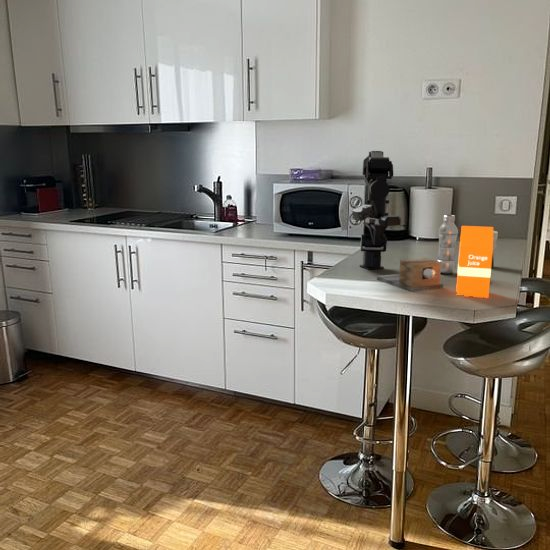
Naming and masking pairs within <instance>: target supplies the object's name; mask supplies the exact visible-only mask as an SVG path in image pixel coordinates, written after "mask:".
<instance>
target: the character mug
mask: <svg viewBox="0 0 550 550" xmlns="http://www.w3.org/2000/svg"><path fill="white" fill-rule="evenodd" d="M498 235H499V232H498V231H495V230H493V251H494V250H496V249H497V248H498V245H497V244H498V243H497V241H498V238H499V237H498ZM494 260H495V259H494V252H493V253H492V263H491V268H492V267H494V265H495V264H494V262H495V261H494Z"/></svg>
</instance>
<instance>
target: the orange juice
mask: <svg viewBox="0 0 550 550" xmlns="http://www.w3.org/2000/svg"><path fill="white" fill-rule="evenodd" d="M460 230H461V231H460V241H459V249H458V262H457V273H456V274H457V275H456V276H457V277H456V286H455V287H456V288H455V292H457V294H456V296H457V295H464V296H463V297H469V296H473V298H483V297H484V298H486V299H489V295H490V293H489V292H490V283H491V274H492V267H491V263H492V253H493V254H494V252H493V251H494V250H493V231H494V227H493V226H478V225H477V226H476V225H461V229H460ZM484 298H483V299H484Z"/></svg>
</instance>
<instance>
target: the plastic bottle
mask: <svg viewBox="0 0 550 550" xmlns="http://www.w3.org/2000/svg"><path fill="white" fill-rule="evenodd" d="M442 220H443V223H441V225H440V227H439V228H438V253H437V254H438V255H437V259H436V261H438V262H441V271H440V274H445V275H446V274H453V273H454V272H455V270H456V258H455V257H456V254H455V252H456V245H457V244H456V243H457V239H458V234H459V229H458V227H457V225H456V224H455V221H456V215H454V214H444V215H443V218H442Z"/></svg>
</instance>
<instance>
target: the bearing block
mask: <svg viewBox="0 0 550 550" xmlns="http://www.w3.org/2000/svg"><path fill="white" fill-rule="evenodd" d="M423 268H429V269H432V270H435V271H436V272H437V277H436V278H435V279H434V280H431V279H428V278H424V277H423ZM440 271H441V262H438V261H437V260H434V259H430V258H425V257H424V258H416V259H415V258H413V259H405V260H403V259H402V260H399V273H393V274H385V275H376V280H378V281H381V282H383V283H386V284H389V285H391V286H393V287H394V286H395V287H397V288H401V289H403V290H406V291H409V292H412V291H413V292H420V290H421V291H428V290H427V289H429V290H435V289H434V288H437V289H443V288H444V284H442V283H440V282H441V273H440ZM442 287H443V288H442Z"/></svg>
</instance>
